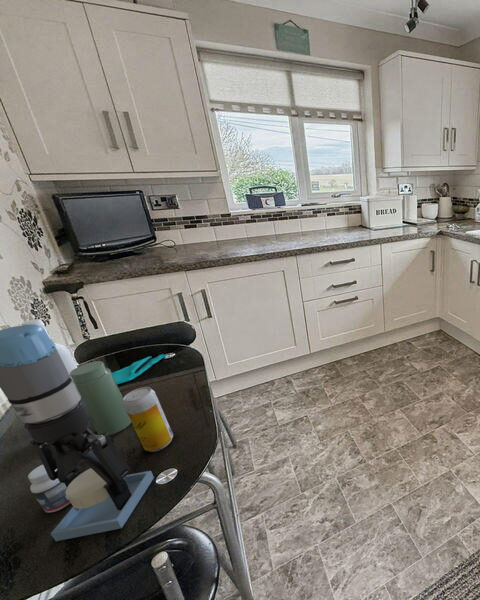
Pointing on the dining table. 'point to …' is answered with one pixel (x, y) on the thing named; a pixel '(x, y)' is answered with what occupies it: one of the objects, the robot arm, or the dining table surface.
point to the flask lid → (87, 490)
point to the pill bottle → (48, 490)
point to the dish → (103, 512)
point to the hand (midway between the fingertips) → (106, 502)
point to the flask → (101, 397)
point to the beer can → (148, 418)
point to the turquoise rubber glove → (135, 369)
